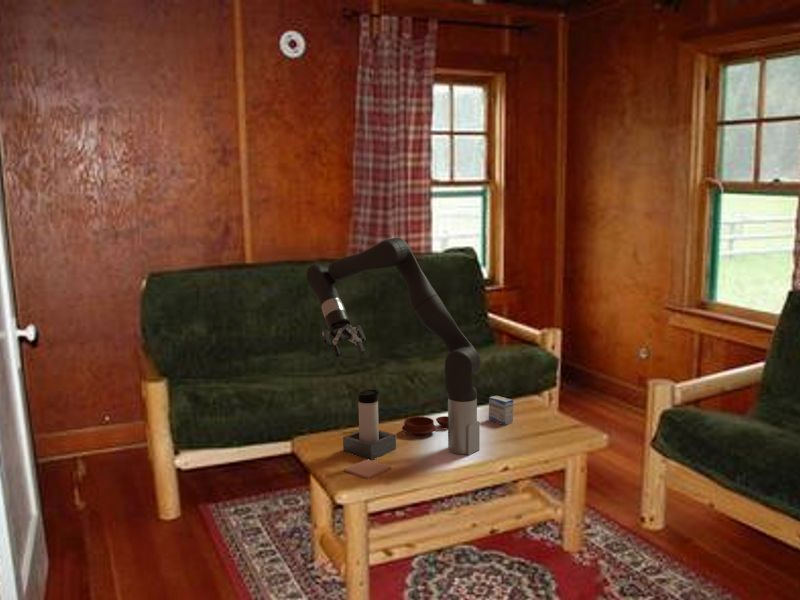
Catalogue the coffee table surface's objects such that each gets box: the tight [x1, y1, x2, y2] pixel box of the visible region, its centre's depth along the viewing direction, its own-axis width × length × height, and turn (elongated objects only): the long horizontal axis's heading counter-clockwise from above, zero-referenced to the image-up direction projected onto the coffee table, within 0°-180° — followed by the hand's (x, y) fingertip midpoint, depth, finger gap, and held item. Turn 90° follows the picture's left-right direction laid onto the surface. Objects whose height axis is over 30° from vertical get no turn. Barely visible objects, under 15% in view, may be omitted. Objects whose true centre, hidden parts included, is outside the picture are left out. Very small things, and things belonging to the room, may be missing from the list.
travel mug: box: [357, 389, 380, 443], centre depth 230 cm, size 6×7×20 cm
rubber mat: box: [343, 459, 392, 480], centre depth 216 cm, size 10×10×1 cm
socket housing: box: [342, 429, 397, 461], centre depth 231 cm, size 12×12×5 cm
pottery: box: [401, 416, 448, 437], centre depth 249 cm, size 12×20×4 cm, turn 122°
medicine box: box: [488, 395, 514, 426], centre depth 257 cm, size 8×4×9 cm, turn 43°
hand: (350, 355), depth 236 cm, fingers open, 8 cm apart
